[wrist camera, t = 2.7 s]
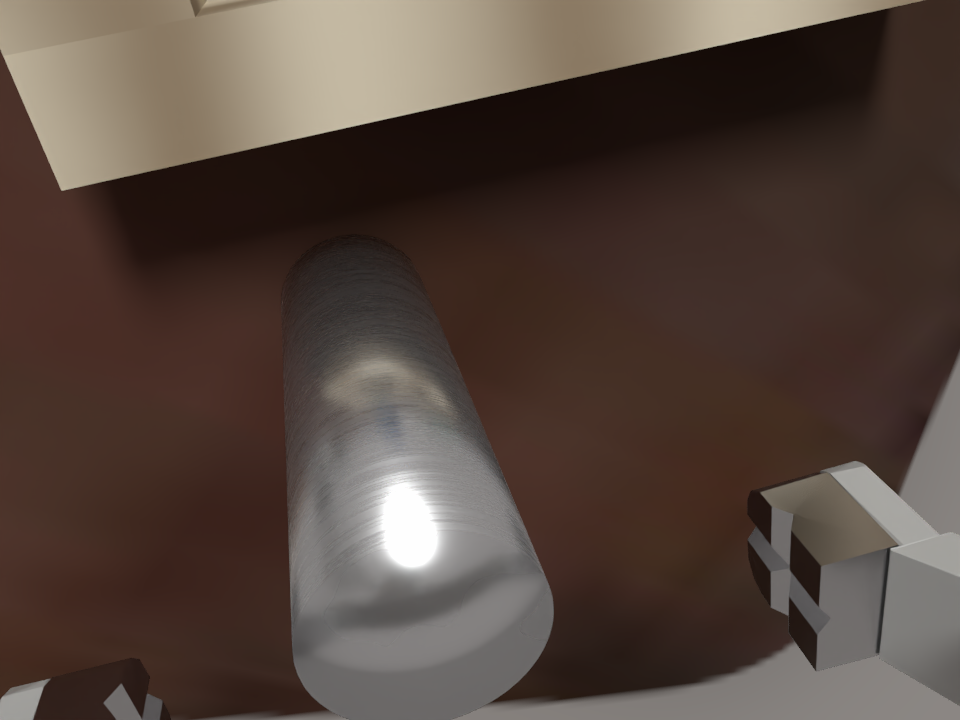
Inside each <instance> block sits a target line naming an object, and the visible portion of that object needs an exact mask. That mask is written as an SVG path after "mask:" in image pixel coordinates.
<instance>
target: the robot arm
mask: <svg viewBox="0 0 960 720" xmlns="http://www.w3.org/2000/svg"><path fill="white" fill-rule="evenodd" d="M747 515H748V516H749V517H750V519H751V520H752V521H753V523H754V524H755V525H756V528H755V530H754V531H753V533H752V534H751V536H750V537H749V538H748V558H749V562H750V566H751V569H752V573H753V576H754V579H755V581H756V583H757V585H758V587H759V589H760V592H761V593H762V595H763V596H764V598H765V599H766V601H767V602H768V604H769V605H770V607H771V608H773V609H775V610H778V611H780V612H782V613H784V614H786V615H788V616H789V627H788V633H789V634H790V635H791V637H792V638H793V640H794V641H795V642H796V644H797V645H798V647H799V648H800V649H801V651H802V652H803V653H804V655H805V657H806V658H807V659H808V661H809V662H810V663H811V665H812V666H813V668H814V669H815V671H820V670H824V669H828V668H832V667H835V666H839V665H843V664H847V663H851V662H854V661H858V660H862V659H866V658H870V657H874V656H877V655H879V659H881V660H882V661H884V662H886V663H888V664H889V665H891V666H893V667H895V668H896V669H898V670H899V671H901V672H903V673H905V674H906V675H908V676H910V677H911V678H913V679H915V680H916V681H918V682H920V683H922V684H923V685H925V686H927V687H928V688H930V689H932V690H934V691H935V692H937V693H939V694H940V695H942V696H944V697H945V698H947V699H949V700H951V701H952V702H954V703H956V704H957V705H959V706H960V535H958V534H955V533H952V532H949V533H946V534H942V535H940V534H939V533H938V532H936V531H935V530H934V529H933V528H932V527H931V526H930V525H929V524H928V523H927V522H926V521H925V520H924V519H922V518H921V516H919V515H918V514H917V513H916V512H915V511H914V510H913V509H912V508H911V507H910V506H909V505H908V504H906V503H905V502H904V501H903V500H902V499H901V498H900V497H899V496H898V495H897V494H896V493H895V492H894V491H893V490H892V489H890V488H889V487H888V486H887V485H886V484H885V483H884V482H883V481H882V480H881V479H880V478H879V477H878V476H877V475H875V474H874V473H873V472H872V471H871V470H870V469H869V468H868V467H867V466H866V465H865V464H863V463H860V462H857V461H854V462H850V463H847V464H843V465H840V466H836V467H833V468H829V469H826V470H822V471H820V472H819V473H813V474H809V475H806V476H802V477H799V478H795V479H791V480H788V481H784V482H781V483H777V484H773V485H770V486H766V487H763V488H759V489H756V490H752V491H751V492H750V494H749V497H748V500H747ZM149 679H150V676H149V674H148V673H147V671H146V669H145V668H144V666H143V664H142V663H141V661H140V659H135V658H129V659H125V660H120V661H116V662H112V663H108V664H104V665H100V666H96V667H92V668H88V669H84V670H80V671H75V672H71V673H67V674H63V675H59V676H55V677H52V678H51V679H47V680H43V681H39V682H35V683H30V684H26V685H22V686H18V687H13V688H11V689H10V690H9V691H8V692H7V693H6V694H5V695H4V696H3V697H2V698H1V700H0V720H171V718H170V714H169V712H168V710H167V708H166V706H165V704H164V702H163V701H162V700H160V699H158V698H156V697H154V696H151V695H149V694H147V691H148V685H149Z"/></svg>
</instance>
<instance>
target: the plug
mask: <svg viewBox="0 0 960 720" xmlns="http://www.w3.org/2000/svg"><path fill="white" fill-rule="evenodd" d="M281 319H282V349H283V379H284V410H285V440H286V470H287V501H288V531H289V562H290V592H291V622H292V650H293V660H294V665H295V668H296V671H297V674H298V676H299V678H300V680H301V682H302V684H303V686H304V687H305V688H306V690H307V691H308V692H309V693H310V695H311V696H312V697H313V698H314V699H315V700H317V701H318V702H319V703H320V704H321V705H323V706H324V707H325V708H327V709H328V710H330V711H331V712H333V713H335V714H337V715H339V716H342V717H344V718H346V719H349V720H451V719H454V718H457V717H460V716H463V715H465V714H468V713H470V712H472V711H474V710H477V709H479V708H481V707H483V706H484V705H486V704H488V703H490V702H492V701H493V700H495V699H496V698H498V697H499V696H501V695H502V694H504V693H505V692H507V691H508V690H509V689H510V688H511V687H513V686H514V685H515V684H516V683H517V682H518V681H519V680H520V679H521V678H522V677H523V676H524V675H525V674H526V673H527V672H528V671H529V670H530V669H531V667H532V666H533V665H534V663H535V662H536V661H537V659H538V658H539V656H540V654H541V653H542V651H543V649H544V647H545V645H546V643H547V640H548V638H549V636H550V632H551V628H552V624H553V615H554V607H553V598H552V594H551V590H550V587H549V584H548V582H547V579H546V577H545V575H544V572H543V570H542V567H541V565H540V563H539V560H538V558H537V555H536V553H535V551H534V548H533V546H532V543H531V541H530V539H529V536H528V534H527V531H526V529H525V527H524V524H523V522H522V519H521V517H520V515H519V512H518V510H517V507H516V505H515V503H514V500H513V498H512V495H511V493H510V491H509V488H508V486H507V483H506V481H505V479H504V476H503V474H502V471H501V469H500V467H499V464H498V462H497V459H496V457H495V455H494V452H493V450H492V447H491V445H490V443H489V440H488V438H487V435H486V433H485V431H484V428H483V426H482V423H481V421H480V418H479V416H478V414H477V411H476V409H475V406H474V404H473V402H472V399H471V397H470V394H469V392H468V390H467V387H466V385H465V382H464V380H463V378H462V375H461V373H460V370H459V368H458V366H457V363H456V361H455V358H454V356H453V354H452V351H451V349H450V346H449V344H448V342H447V339H446V337H445V334H444V332H443V330H442V327H441V325H440V322H439V320H438V318H437V315H436V313H435V310H434V308H433V306H432V303H431V301H430V298H429V296H428V294H427V291H426V289H425V286H424V284H423V282H422V279H421V277H420V275H419V273H418V270H417V269H416V267H415V266H414V264H413V262H412V261H411V260H410V259H409V258H408V257H407V256H406V255H405V254H404V253H403V252H402V251H401V250H399V249H398V248H396V247H395V246H394V245H392V244H390V243H388V242H386V241H384V240H381V239H378V238H375V237H370V236H364V235H345V236H339V237H335V238H332V239H328V240H326V241H323V242H321V243H319V244H317V245H315V246H314V247H312V248H311V249H309V250H308V251H307V252H305V253H304V254H303V255H302V256H301V257H300V258H299V259H298V260H297V261H296V262H295V264H294V265H293V267H292V268H291V269H290V271H289V273H288V275H287V277H286V279H285V282H284V285H283V289H282V294H281Z"/></svg>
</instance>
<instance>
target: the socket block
mask: <svg viewBox="0 0 960 720" xmlns="http://www.w3.org/2000/svg"><path fill="white" fill-rule="evenodd" d="M919 1H923V0H0V50H1V52H2V54H3V57H4V59H5V61H6V64H7V66H8V68H9V70H10V73H11V75H12V77H13V80H14V82H15V84H16V87H17V89H18V91H19V94H20V96H21V98H22V100H23V103H24V105H25V107H26V110H27V112H28V114H29V117H30V119H31V121H32V124H33V126H34V128H35V131H36V133H37V135H38V137H39V140H40V142H41V144H42V147H43V149H44V151H45V154H46V156H47V158H48V161H49V163H50V165H51V167H52V170H53V172H54V174H55V177H56V179H57V181H58V184H59V186H60V188H61V191H63V190H67V189H72V188H76V187H81V186H85V185H90V184H95V183H99V182H104V181H108V180H113V179H117V178H122V177H126V176H131V175H135V174H140V173H144V172H149V171H153V170H158V169H162V168H167V167H172V166H176V165H181V164H185V163H190V162H194V161H199V160H203V159H208V158H212V157H217V156H221V155H226V154H230V153H235V152H239V151H244V150H249V149H253V148H258V147H262V146H267V145H271V144H276V143H280V142H285V141H289V140H294V139H298V138H303V137H307V136H312V135H316V134H321V133H325V132H330V131H335V130H339V129H344V128H348V127H353V126H357V125H362V124H366V123H371V122H375V121H380V120H384V119H389V118H393V117H398V116H402V115H407V114H412V113H416V112H421V111H425V110H430V109H434V108H439V107H443V106H448V105H452V104H457V103H461V102H466V101H470V100H475V99H479V98H484V97H488V96H493V95H498V94H502V93H507V92H511V91H516V90H520V89H525V88H529V87H534V86H538V85H543V84H547V83H552V82H556V81H561V80H565V79H570V78H575V77H579V76H584V75H588V74H593V73H597V72H602V71H606V70H611V69H615V68H620V67H624V66H629V65H633V64H638V63H642V62H647V61H651V60H656V59H661V58H665V57H670V56H674V55H679V54H683V53H688V52H692V51H697V50H701V49H706V48H710V47H715V46H719V45H724V44H728V43H733V42H738V41H742V40H747V39H751V38H756V37H760V36H765V35H769V34H774V33H778V32H783V31H787V30H792V29H796V28H801V27H805V26H810V25H814V24H819V23H824V22H828V21H833V20H837V19H842V18H846V17H851V16H855V15H860V14H864V13H869V12H873V11H878V10H882V9H887V8H891V7H896V6H901V5H905V4H910V3H914V2H919Z"/></svg>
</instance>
